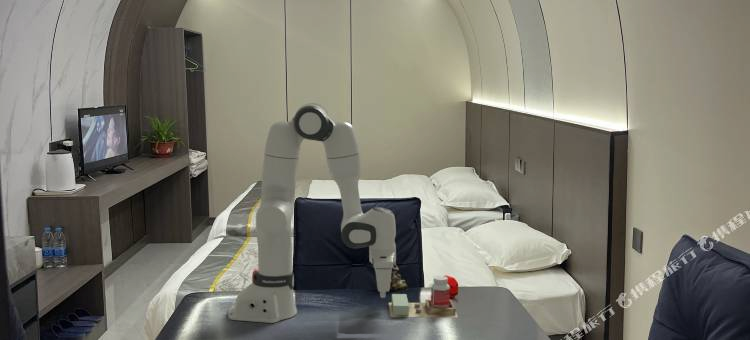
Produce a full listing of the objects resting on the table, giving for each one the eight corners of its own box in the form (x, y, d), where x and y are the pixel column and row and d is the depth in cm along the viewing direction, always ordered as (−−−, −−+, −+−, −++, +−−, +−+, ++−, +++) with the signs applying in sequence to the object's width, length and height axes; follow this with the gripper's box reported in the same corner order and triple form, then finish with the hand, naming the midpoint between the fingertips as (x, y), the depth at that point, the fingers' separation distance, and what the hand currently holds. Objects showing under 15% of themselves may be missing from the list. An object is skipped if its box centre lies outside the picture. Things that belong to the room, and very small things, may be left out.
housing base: (390, 320, 219) (390, 310, 218) (388, 305, 233) (388, 297, 232) (457, 320, 219) (458, 311, 219) (452, 306, 233) (452, 297, 233)
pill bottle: (452, 310, 225) (453, 278, 224) (438, 314, 222) (439, 281, 220) (441, 305, 230) (442, 274, 229) (426, 308, 227) (427, 276, 225)
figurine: (373, 293, 247) (373, 253, 245) (379, 284, 257) (380, 246, 255) (404, 295, 244) (405, 255, 242) (410, 287, 254) (410, 248, 252)
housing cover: (393, 315, 220) (393, 305, 219) (391, 303, 231) (391, 294, 231) (408, 315, 220) (408, 305, 219) (406, 303, 232) (406, 294, 231)
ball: (446, 303, 236) (447, 282, 235) (430, 297, 242) (430, 277, 241) (461, 298, 242) (462, 278, 241) (445, 293, 248) (445, 273, 247)
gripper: (372, 248, 233) (372, 286, 235) (373, 264, 213) (374, 306, 215) (390, 248, 233) (390, 286, 235) (393, 264, 213) (393, 306, 215)
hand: (382, 296), depth 225 cm, fingers closed
